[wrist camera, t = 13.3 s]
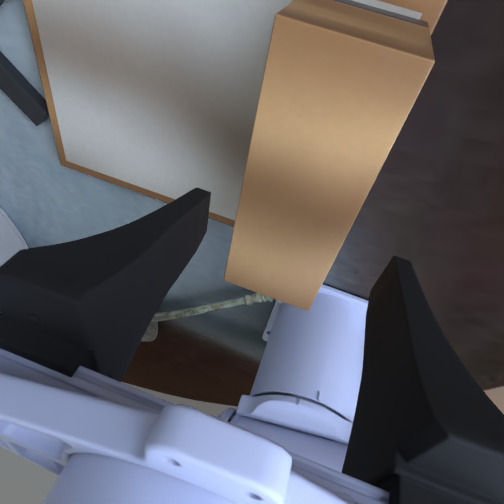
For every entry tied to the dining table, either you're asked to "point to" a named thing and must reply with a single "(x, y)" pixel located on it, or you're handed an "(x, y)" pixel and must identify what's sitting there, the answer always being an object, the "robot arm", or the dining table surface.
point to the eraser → (321, 138)
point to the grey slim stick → (200, 311)
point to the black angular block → (22, 92)
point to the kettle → (9, 238)
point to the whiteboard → (162, 88)
